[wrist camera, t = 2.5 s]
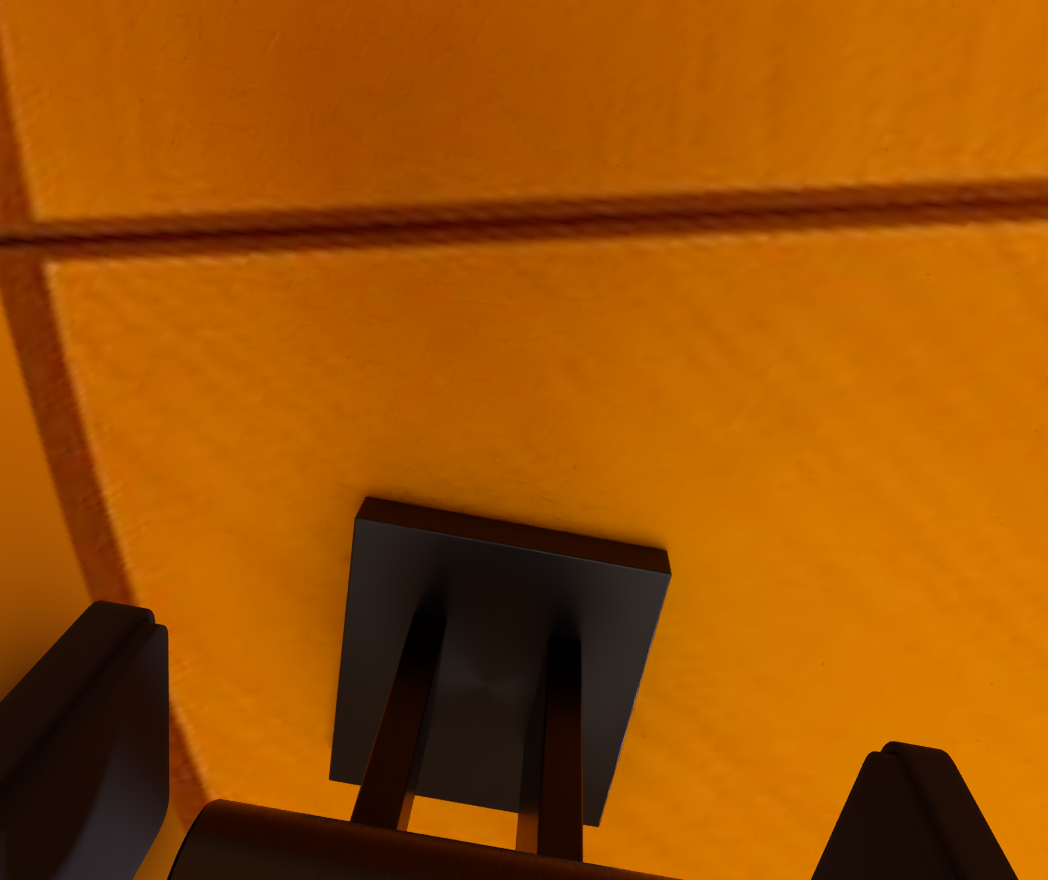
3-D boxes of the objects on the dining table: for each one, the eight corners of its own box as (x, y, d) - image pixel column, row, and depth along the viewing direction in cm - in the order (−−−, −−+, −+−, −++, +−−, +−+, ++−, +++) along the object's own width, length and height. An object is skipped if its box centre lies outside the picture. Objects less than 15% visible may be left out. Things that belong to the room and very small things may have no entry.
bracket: (365, 495, 24) (166, 887, 13) (668, 549, 24) (750, 987, 13) (338, 751, 28) (169, 1227, 17) (598, 796, 28) (611, 1302, 17)
